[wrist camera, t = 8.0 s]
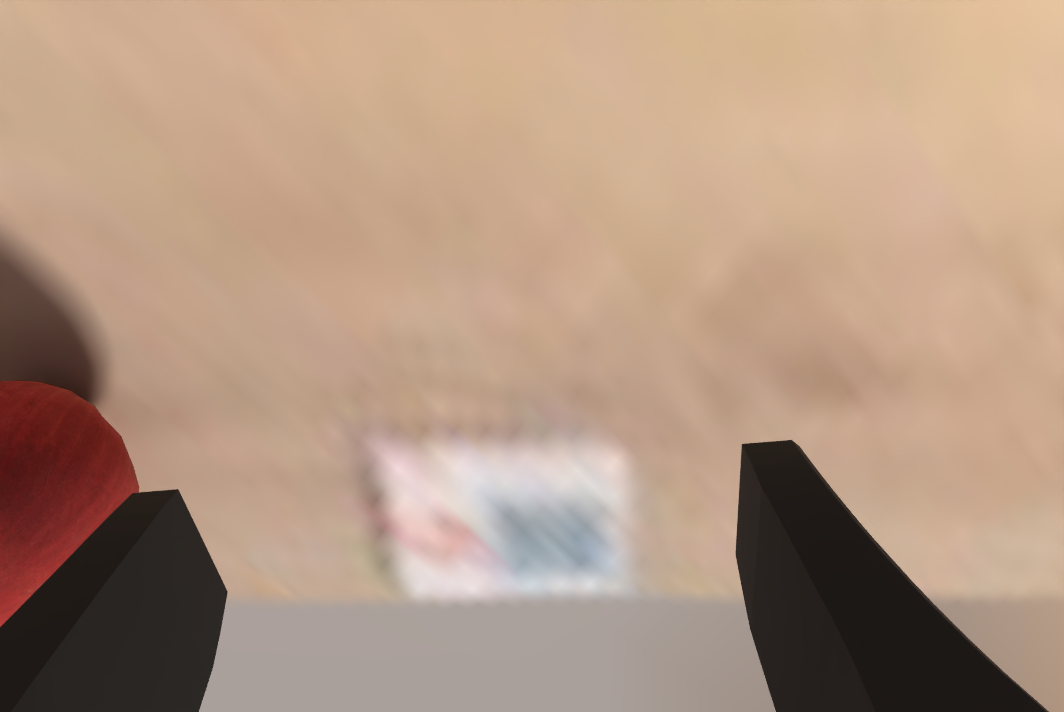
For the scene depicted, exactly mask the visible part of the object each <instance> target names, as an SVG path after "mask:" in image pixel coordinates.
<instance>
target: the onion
mask: <svg viewBox="0 0 1064 712" xmlns="http://www.w3.org/2000/svg"><path fill="white" fill-rule="evenodd" d="M132 493H139V485H138V481H137V478H136V474H135V470H134V467H133V464H132V462H131V459H130V457H129V454H128V452H127V449H126V447H125V444H124V442H123V439H122V437H121V435H120V434H119V433H118V432H117V431H116V430H115V429H114V428H113V427H112V426H111V425H110V424H109V423H108V422H107V421H106V420H105V419H104V418H103V417H102V416H101V414H100V413H99V411H98V410H97V409H96V407H95V406H94V405H92V404H90V403H89V402H87V401H86V400H84V399H82V398H81V397H79V396H78V395H76V394H75V393H73V392H71V391H70V390H67V389H64V388H60V387H56V386H53V385H49V384H46V383H42V382H36V381H0V627H1V626H2V625H3V624H4V623H5V622H6V621H7V620H8V619H9V618H10V617H11V616H12V615H13V614H14V613H15V612H16V611H17V610H18V609H19V608H20V607H21V606H22V604H23V603H24V602H25V601H26V600H27V599H28V598H29V597H30V596H31V595H32V594H33V593H34V592H35V591H36V590H37V589H38V588H39V587H40V586H41V585H42V584H43V583H44V582H45V581H46V580H47V579H48V578H49V577H50V576H51V575H52V574H53V573H54V572H55V571H56V570H57V569H58V568H59V567H60V566H61V565H62V564H63V563H64V562H65V561H66V560H67V559H68V558H69V557H70V556H71V555H72V554H73V552H74V551H75V550H76V549H77V548H78V547H79V546H80V545H81V544H82V543H83V542H84V541H85V540H86V539H87V538H88V537H89V536H90V535H91V534H92V533H93V532H94V531H95V530H96V529H97V528H98V527H99V526H100V525H101V524H102V523H103V522H104V521H105V520H106V519H107V518H108V517H109V516H110V515H111V514H112V513H113V512H114V511H115V510H116V509H117V508H118V507H119V506H120V505H121V504H122V503H123V502H124V501H125V500H126V499H127V498H128V497H129V496H130V495H131V494H132Z"/></svg>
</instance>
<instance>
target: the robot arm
mask: <svg viewBox="0 0 1064 712" xmlns="http://www.w3.org/2000/svg"><path fill="white" fill-rule="evenodd" d="M736 559H737V564H738V569H739V574H740V580H741V585H742V590H743V595H744V600H745V605H746V610H747V615H748V620H749V625H750V630H751V633H752V636H753V640H754V642H755V646H756V649H757V652H758V656H759V659H760V662H761V665H762V668H763V672H764V675H765V678H766V681H767V684H768V688H769V691H770V694H771V697H772V700H773V703H774V707H775V710H776V712H1049V711H1047V710H1046V709H1045V708H1044V707H1043V706H1041V704H1039V703H1038V702H1037V701H1036V700H1035V699H1034V698H1033V697H1031V696H1030V695H1029V694H1028V693H1027V692H1026V691H1025V690H1023V689H1022V688H1021V687H1020V686H1019V685H1018V684H1017V683H1016V682H1014V681H1013V680H1012V679H1011V678H1010V677H1009V676H1008V675H1007V674H1005V673H1004V672H1003V671H1002V670H1001V669H1000V668H999V667H998V666H997V665H996V664H995V663H994V662H993V661H991V660H990V659H989V658H988V657H987V656H986V655H985V654H984V653H983V652H982V651H981V650H980V649H979V648H978V647H977V646H975V644H974V643H973V642H971V641H970V640H969V639H968V638H967V637H966V636H965V635H964V634H963V633H962V632H961V631H960V630H959V629H958V628H957V627H956V626H955V625H954V624H953V623H952V622H951V621H950V620H949V619H948V618H947V617H946V616H945V615H944V614H943V613H942V612H941V611H940V610H939V609H938V608H937V607H936V606H935V605H934V604H933V603H932V602H931V601H930V600H929V598H928V597H927V596H926V595H925V594H924V593H923V592H922V591H921V590H920V589H919V588H918V587H917V586H916V585H915V584H914V583H913V582H912V581H911V580H910V578H909V577H908V576H907V575H906V574H905V573H904V572H903V571H902V570H901V568H900V567H899V566H898V565H897V564H896V563H895V562H894V561H893V560H892V559H891V557H890V556H889V555H888V554H887V553H886V552H885V551H884V550H883V549H882V548H881V546H880V545H879V544H878V543H877V542H876V541H875V540H874V539H873V537H872V536H871V535H870V534H869V533H868V532H867V530H866V529H865V528H864V527H863V526H862V525H861V523H860V522H859V521H858V520H857V519H856V517H855V516H854V515H853V514H852V513H851V511H850V510H849V509H848V508H847V507H846V505H845V504H844V503H843V502H842V501H841V499H840V498H839V497H838V496H837V494H836V493H835V492H834V491H833V489H832V488H831V487H830V486H829V484H828V483H827V482H826V481H825V479H824V478H823V477H822V475H821V474H820V473H819V472H818V470H817V469H816V468H815V466H814V465H813V464H812V462H811V461H810V460H809V458H808V457H807V456H806V454H805V453H804V452H803V450H802V449H801V448H800V446H798V445H797V444H796V443H795V442H793V441H792V440H786V441H774V442H762V443H749V444H742V453H741V470H740V488H739V505H738V522H737V539H736ZM226 597H227V590H226V588H225V585H224V583H223V581H222V579H221V577H220V575H219V573H218V571H217V569H216V567H215V565H214V563H213V561H212V558H211V556H210V554H209V552H208V550H207V548H206V546H205V544H204V542H203V540H202V538H201V536H200V533H199V531H198V529H197V527H196V525H195V523H194V521H193V519H192V517H191V515H190V513H189V511H188V509H187V506H186V504H185V502H184V500H183V498H182V496H181V494H180V492H179V490H178V489H177V490H165V491H152V492H140V493H132V494H131V495H130V496H129V497H128V498H127V499H126V500H125V501H124V502H123V503H122V504H121V505H120V506H119V507H118V508H117V509H116V510H115V511H114V512H113V513H112V514H111V515H110V516H109V517H108V518H107V519H106V520H105V521H104V522H103V523H102V524H101V525H100V526H99V527H98V528H97V529H96V530H95V531H94V532H93V533H92V534H91V535H90V536H89V537H88V538H87V539H86V540H85V541H84V542H83V543H82V544H81V545H80V546H79V547H78V548H77V549H76V550H75V551H74V552H73V554H72V555H71V556H70V557H69V558H68V559H67V560H66V561H65V562H64V563H63V564H62V565H61V566H60V567H59V568H58V569H57V570H56V571H55V572H54V573H53V574H52V575H51V576H50V577H49V578H48V579H47V580H46V581H45V582H44V583H43V584H42V585H41V586H40V587H39V588H38V589H37V590H36V591H35V592H34V593H33V594H32V595H31V596H30V597H29V598H28V599H27V600H26V601H25V602H24V603H23V604H22V606H21V607H20V608H19V609H18V610H17V611H16V612H15V613H14V614H13V615H12V616H11V617H10V618H9V619H8V620H7V621H6V622H5V623H4V624H3V625H2V626H1V627H0V712H199V709H200V706H201V703H202V700H203V697H204V693H205V691H206V687H207V684H208V681H209V678H210V675H211V671H212V668H213V664H214V660H215V655H216V650H217V645H218V641H219V636H220V631H221V625H222V620H223V614H224V609H225V603H226Z"/></svg>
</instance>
